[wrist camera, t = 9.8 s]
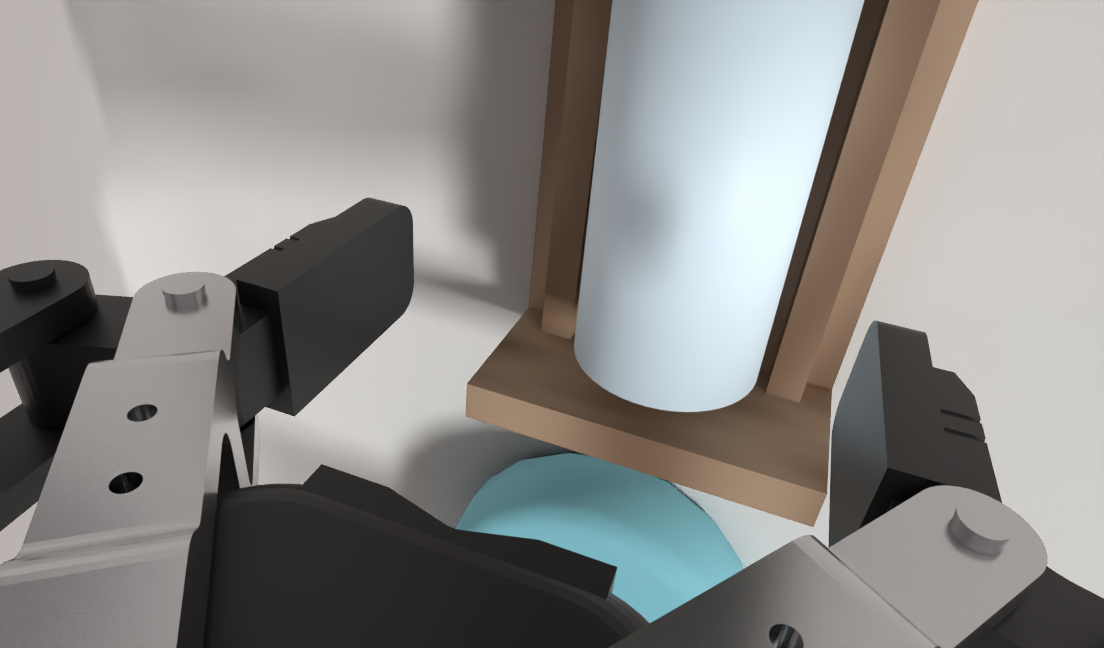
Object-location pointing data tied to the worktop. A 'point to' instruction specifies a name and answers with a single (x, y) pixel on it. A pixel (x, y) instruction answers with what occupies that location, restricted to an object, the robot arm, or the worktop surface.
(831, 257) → the roll cradle
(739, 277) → the paper roll
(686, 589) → the blue towel holder stand
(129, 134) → the worktop surface
